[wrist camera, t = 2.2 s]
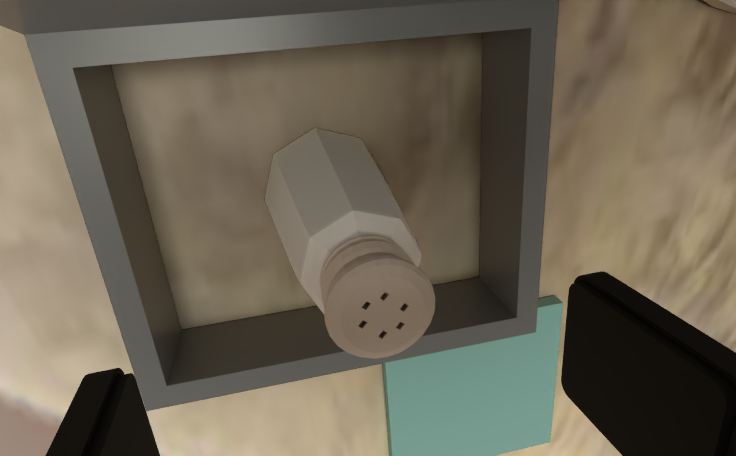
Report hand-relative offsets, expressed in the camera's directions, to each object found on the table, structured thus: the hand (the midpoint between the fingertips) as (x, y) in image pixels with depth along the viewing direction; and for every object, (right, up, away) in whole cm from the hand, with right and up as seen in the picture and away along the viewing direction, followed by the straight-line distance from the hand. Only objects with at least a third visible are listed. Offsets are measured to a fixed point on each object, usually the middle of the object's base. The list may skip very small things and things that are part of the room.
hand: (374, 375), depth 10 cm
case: (-2, +5, +11) cm, 13 cm away
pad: (+6, -6, +18) cm, 19 cm away
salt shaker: (-2, +5, +12) cm, 13 cm away
